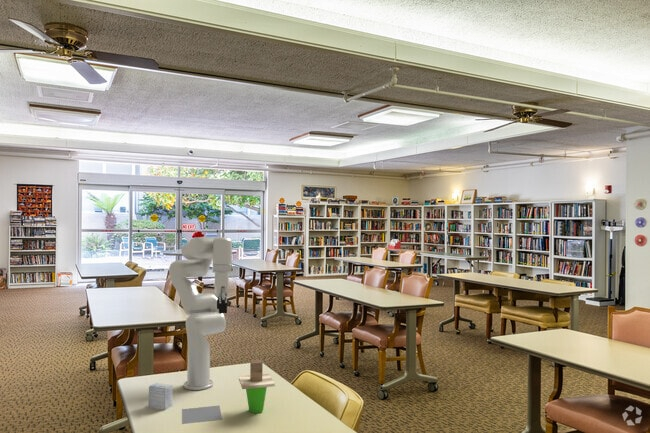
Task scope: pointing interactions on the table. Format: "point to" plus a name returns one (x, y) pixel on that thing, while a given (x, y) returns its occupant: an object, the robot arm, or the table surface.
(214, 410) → the mat
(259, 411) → the cup
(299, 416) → the table surface
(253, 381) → the lid
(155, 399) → the medicine box
